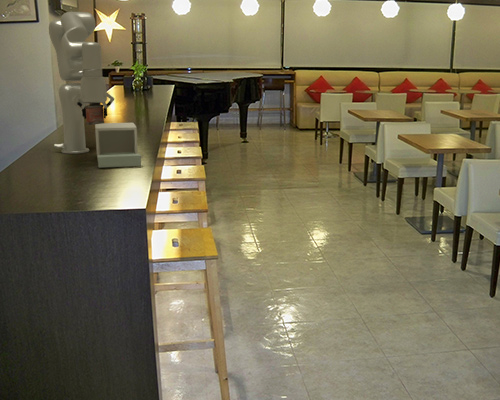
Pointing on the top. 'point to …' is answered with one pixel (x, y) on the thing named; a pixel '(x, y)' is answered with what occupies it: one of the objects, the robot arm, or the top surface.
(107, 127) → the cabinet
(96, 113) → the lighter
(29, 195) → the top surface
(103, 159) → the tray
